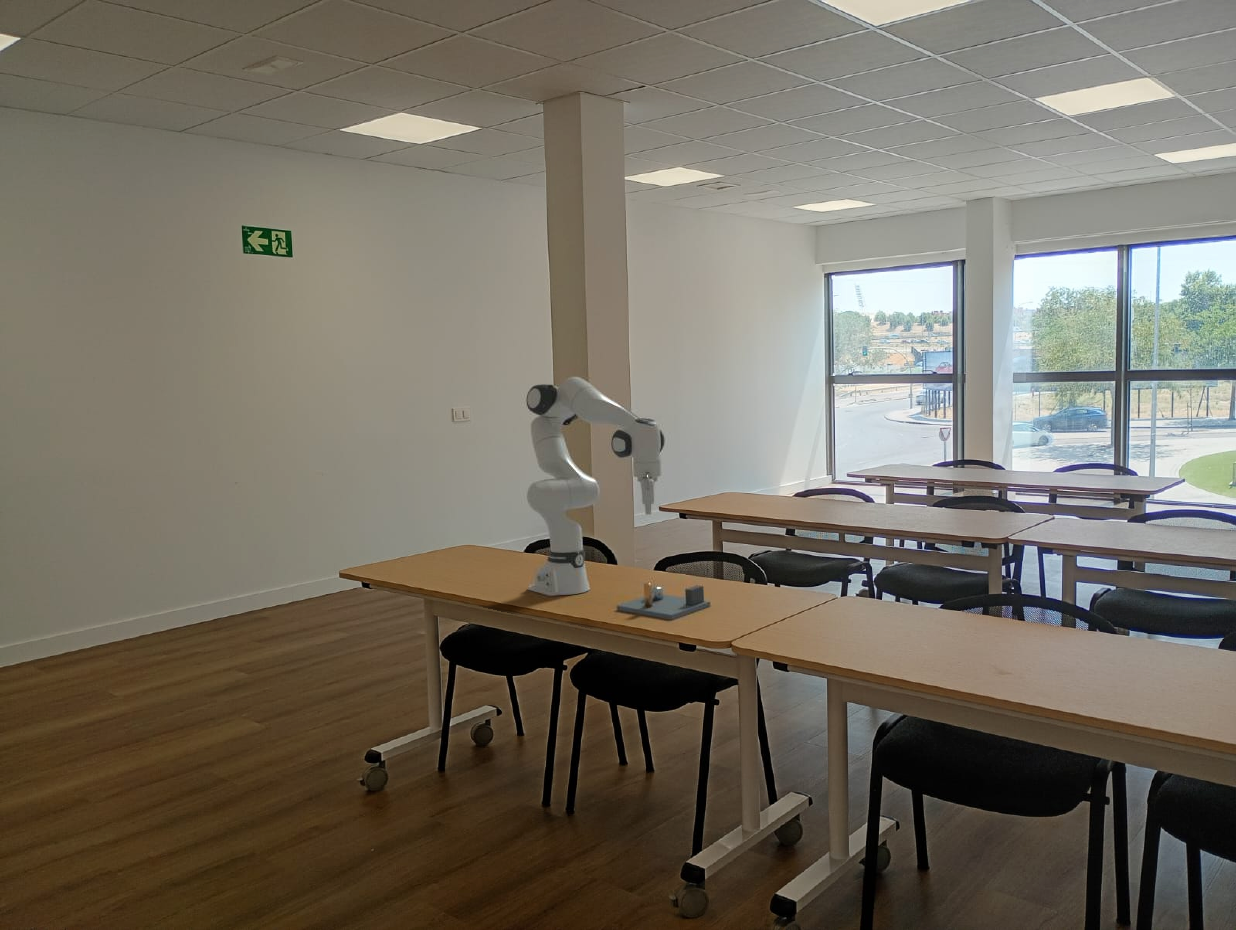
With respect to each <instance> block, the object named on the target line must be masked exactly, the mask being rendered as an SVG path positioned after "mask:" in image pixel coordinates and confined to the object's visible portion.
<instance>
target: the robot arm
mask: <svg viewBox="0 0 1236 930" xmlns="http://www.w3.org/2000/svg"><path fill="white" fill-rule="evenodd" d="M526 406H527V407H526V408H527V409H528V410H529V411H530V412H531V413H532V414H535V415H537V417H534V419H533V420H532V422H531V424H530V434H531V441H532V446H533V450H534V453H535V456H536V460H537V464H538V467H539V468H540V469H541V471H542V472H544V473H545V474H548V475H550V476H552V477H553V478H548V479H543V480H539V481H535V482H532V483H531V484H530V485H529V486H528V489H527V492H526V493H527V494H526V499H527V503H528V505H529V507H530V508H531V509H532V510H533V511H535V512H536V513H538V514H539V515H540V516H541V517H542V519H543V520H544V522H545V523H546V526H547V530H548V535H549V544H550V550H549V551H546V552H545V555H544V556H545V557H546V556H547V561H546V562H545V563H544V564H542V566H541V567H539V568H538V569H537V570H536V571H535V573H534V582H533V583H532V584H530V585H529V586H528V587H527V590H528V591H531V592H536V593H539V594H541V595H545V596H549V597H553V596H565V595H566V596H568V595H577V594H581V593H582V594H583V593H586V592H587V591H590V589H591V587H590V582H589V581H588V575H587V569H586V564H585V559H586V556H585V555H586V553H585V549H584V547H583V545H584V544H583V528H582V527H581V525H580V524H579V523H578V522H577V521H575V520H572V519H570V518H568V517H567V514H566V512H567V510H568V511H569V510H575V509H583V508H586V507H590V506H593V505H595V504H596V503H598V500H599V498H600V493H601V492H600V491H601V490H600V489H601V488H600V485H599V483H598V481H597V480H596V479H595V478H594V477H593V476H591V475H588V474H586V473H585V472H584V471H582V470H581V469H580V468H579V467H578V466H577V465H576V463H575V462H574V461H573V459H572V457H571V455H570V452H569V450H568V447H567V444H566V440H565V437H564V434H563V430H562V429H563V426H570V424H571V423H572V422H573V421H575V420H577V419H578V418H579V419H581V421H584V422H586V423H588V424H592V425H593V424H594V425H595V424H596V425H611V426H616V427H619V428H620V429H616V431H615V432H614V433H613V435H612V436H611V437H612V438H611V444H610V445H611V449H612V452H613V454H614V455H615V456H617V457H618V458H621V459H630V458H631V459H632V469H633V470H632V473H633V477H634V478H637V479H636V481H637V482H638V483H640V489H641V502H642V505H644V508H645V509H644V510H645V511H644V512H645V515H651V514H652V505H653V504H655V482H658V477H661V476H662V459H661V455H660V453H661V452H662V450H663V448H664V446H665V442H666V441H665V436H664V435H665V434H664V432H663V431H662V429H660V427H659V424H658V422H657V421H656V420H655V419H650V418H644V417H642V418H640V417H639V416H638V415H636V414H635V413H633V412H632V411H631V410H630V409H628V408H626V407H625V406H624V405H621V404H620V403H618V402H616V401H614V400H613V399H611V398H609V397H608V396H606V395H604V394H603V393H602V392H601V391H600V390H598V389H597V388H596V387H595V386H593V385H592V384H591V383H590V382H588V381H586V380H585V379H583V378H582V377H579V376H571V377H568V378H567V379H565V380H564V382H563V383H562V384H561V385H560V386H556V385H554V384H547V383H546V384H537V385H536V384H535V385H534V386H532V387H531V388H530V389H529V391H528V392H527V395H526Z"/></svg>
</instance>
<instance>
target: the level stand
mask: <svg viewBox="0 0 1236 930" xmlns="http://www.w3.org/2000/svg"><path fill="white" fill-rule="evenodd" d="M704 594H705V593H704V586H703V585H698V584H697V585H694V586H691V587H687V588H685V597H684V596H675V595H670V594H665V593H663V596H664V598H663V599H661V600H652V603H653V606H652V607H645V599H644V596H642V597H639V598H636V599H634V600H633V599H632V600H629V601H627V602H623V603H621V604H620V603H619V604H617V605H616V611H620V612H625V613H632V614H637V615H642V616H648V617H653V618H658V619H663V620H664V619H665V620H669V621H670V620H671V621H673V620H676V619H678V618H682V617H684V616H687V615H690V614H692V613H696V612H699V611H701V610H705V609H707V608H710V607H711V601H709V600H705V595H704Z"/></svg>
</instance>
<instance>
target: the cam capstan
mask: <svg viewBox="0 0 1236 930" xmlns="http://www.w3.org/2000/svg"><path fill="white" fill-rule="evenodd" d="M643 593H644V594H643V595H644V596H643V597H644V599H645V607H652V606H653V603H652V600H661V599H663V598H664V596H663V594H664V586H662V585H652V582H644V583H643Z"/></svg>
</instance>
